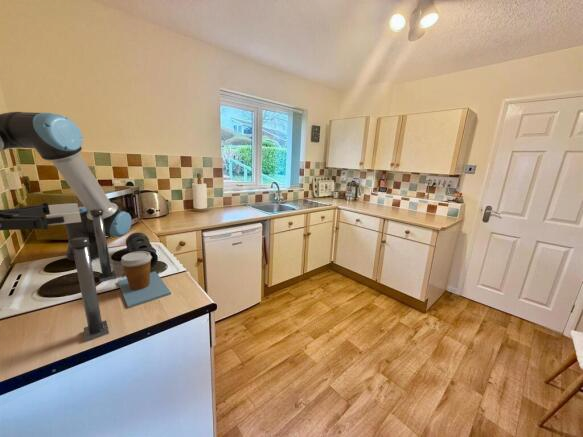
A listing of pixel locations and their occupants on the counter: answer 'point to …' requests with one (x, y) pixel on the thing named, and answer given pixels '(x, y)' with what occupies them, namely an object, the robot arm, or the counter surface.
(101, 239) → the post
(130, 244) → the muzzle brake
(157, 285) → the mat
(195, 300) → the counter surface
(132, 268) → the disposable coffee cup
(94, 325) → the post
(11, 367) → the counter surface
